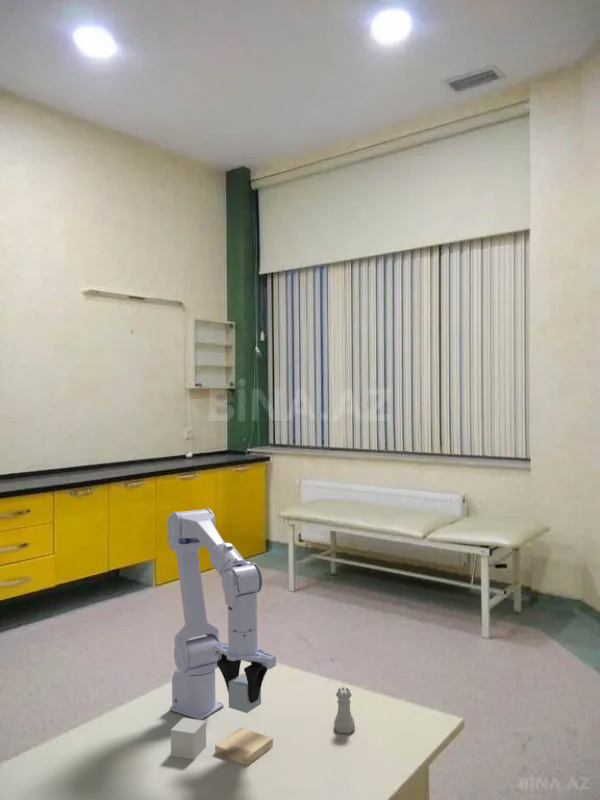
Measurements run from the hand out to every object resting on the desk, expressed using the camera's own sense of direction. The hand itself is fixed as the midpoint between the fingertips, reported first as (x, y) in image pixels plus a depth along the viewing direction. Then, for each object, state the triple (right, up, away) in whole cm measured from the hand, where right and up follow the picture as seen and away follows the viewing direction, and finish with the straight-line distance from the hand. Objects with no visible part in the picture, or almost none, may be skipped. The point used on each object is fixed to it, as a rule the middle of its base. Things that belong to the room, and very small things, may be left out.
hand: (243, 697), depth 118 cm
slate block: (0, -2, 0) cm, 2 cm away
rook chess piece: (+20, -10, +7) cm, 24 cm away
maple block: (0, -10, 0) cm, 10 cm away
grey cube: (-11, -10, -1) cm, 15 cm away
